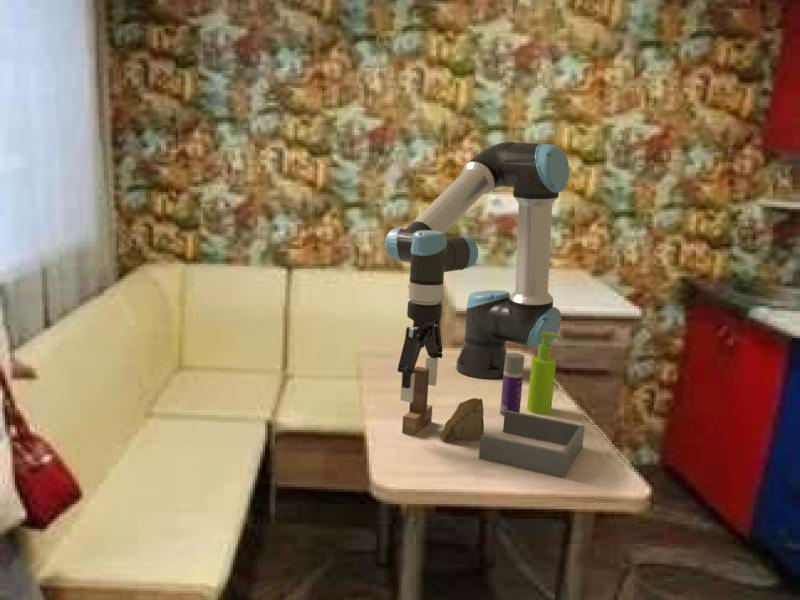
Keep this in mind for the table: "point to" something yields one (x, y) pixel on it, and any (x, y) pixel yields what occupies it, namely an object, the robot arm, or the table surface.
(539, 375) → the soap dispenser
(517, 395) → the container
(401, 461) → the table surface
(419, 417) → the brown t-shaped block
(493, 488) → the table surface
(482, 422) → the rock
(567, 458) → the box
